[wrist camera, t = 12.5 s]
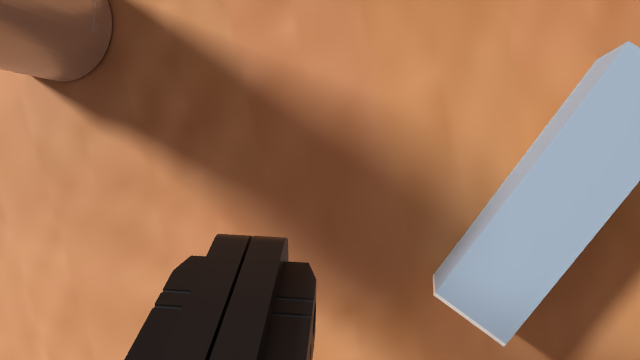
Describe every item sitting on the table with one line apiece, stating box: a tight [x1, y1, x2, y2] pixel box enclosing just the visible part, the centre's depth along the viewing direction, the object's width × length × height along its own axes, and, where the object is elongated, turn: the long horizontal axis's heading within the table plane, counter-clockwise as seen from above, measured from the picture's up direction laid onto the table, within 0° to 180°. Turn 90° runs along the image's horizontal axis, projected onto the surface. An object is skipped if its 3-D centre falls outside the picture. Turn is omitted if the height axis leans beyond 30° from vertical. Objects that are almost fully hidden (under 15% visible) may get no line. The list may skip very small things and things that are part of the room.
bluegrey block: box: [433, 41, 640, 346], centre depth 29 cm, size 5×5×18 cm
